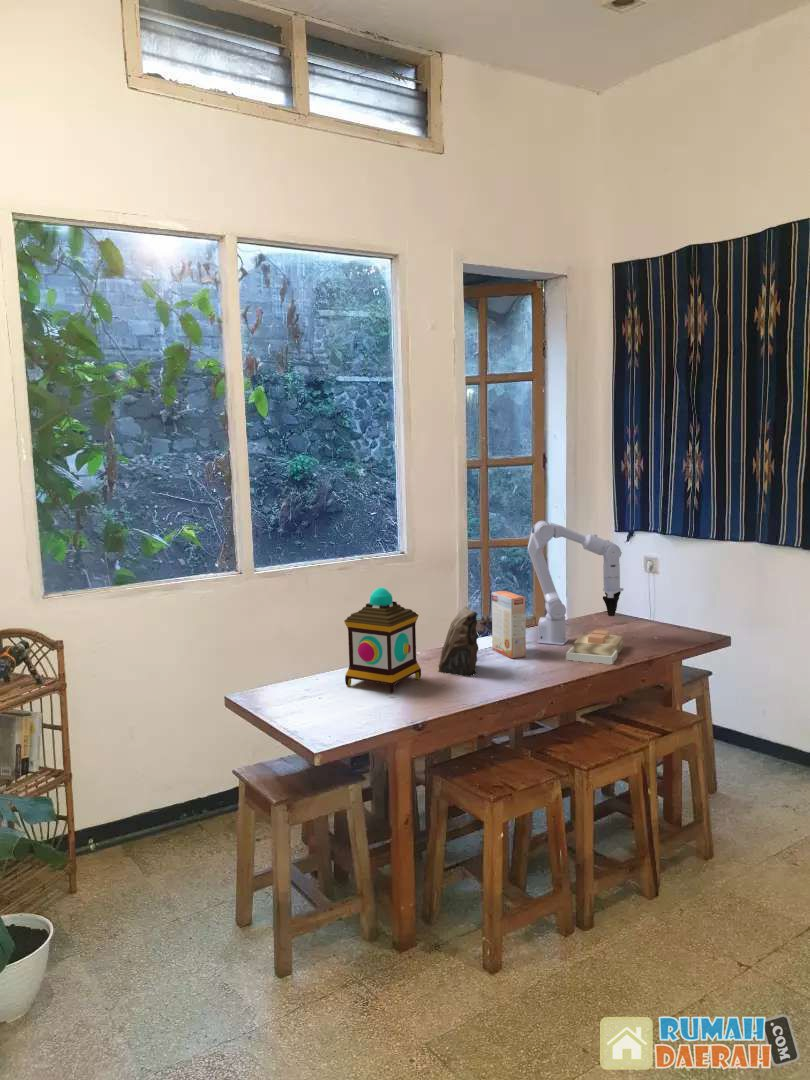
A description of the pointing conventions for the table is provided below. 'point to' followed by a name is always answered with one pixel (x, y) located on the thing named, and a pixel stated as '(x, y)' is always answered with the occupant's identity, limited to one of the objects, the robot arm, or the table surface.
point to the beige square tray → (598, 645)
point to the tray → (590, 657)
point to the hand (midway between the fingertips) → (612, 613)
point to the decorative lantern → (382, 642)
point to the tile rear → (601, 632)
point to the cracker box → (509, 624)
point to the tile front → (597, 638)
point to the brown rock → (460, 645)
